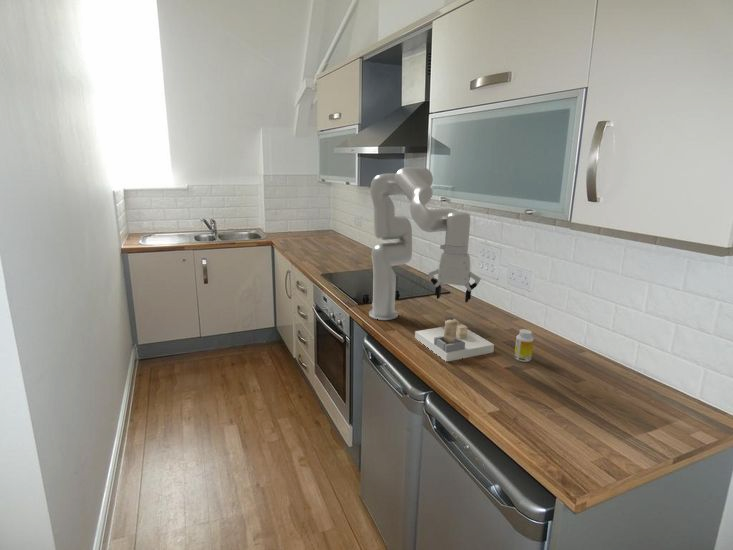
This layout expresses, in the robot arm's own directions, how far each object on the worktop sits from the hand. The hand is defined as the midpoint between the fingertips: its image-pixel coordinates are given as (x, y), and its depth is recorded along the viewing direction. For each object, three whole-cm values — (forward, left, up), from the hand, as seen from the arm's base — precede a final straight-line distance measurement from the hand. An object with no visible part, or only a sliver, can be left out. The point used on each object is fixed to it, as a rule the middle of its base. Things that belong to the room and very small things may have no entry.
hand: (452, 299), depth 151 cm
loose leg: (0, 0, -17) cm, 17 cm away
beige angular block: (-10, +9, -17) cm, 22 cm away
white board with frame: (-6, +6, -20) cm, 22 cm away
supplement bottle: (+12, +22, -20) cm, 33 cm away
